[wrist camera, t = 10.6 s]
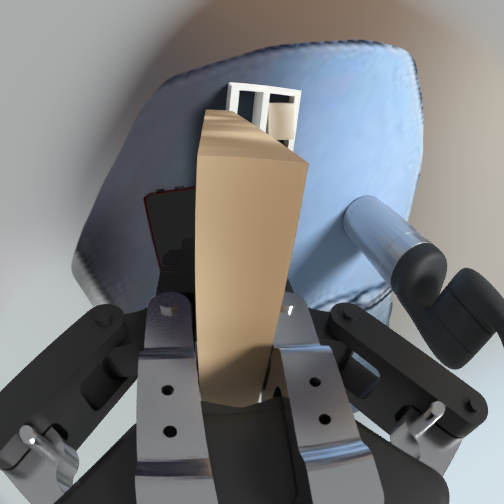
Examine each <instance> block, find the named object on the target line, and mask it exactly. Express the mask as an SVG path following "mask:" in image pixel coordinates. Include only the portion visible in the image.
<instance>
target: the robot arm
mask: <svg viewBox="0 0 504 504" xmlns="http://www.w3.org/2000/svg"><path fill="white" fill-rule="evenodd" d="M343 227H344V230H345V232H346V234H347V235H348V236H349V237H350V238H351V240H352V241H353V242H354V243H355V244H356V246H357V247H358V248H359V249H360V250H361V252H362V253H363V254H364V255H365V256H366V258H367V259H368V260H369V261H370V263H371V264H372V265H373V266H374V267H375V269H376V270H377V271H378V272H379V274H380V275H381V276H382V278H383V279H384V280H385V281H386V282H387V284H388V285H389V286H390V288H391V289H392V290H393V292H394V293H395V294H396V295H397V297H398V299H399V301H400V303H401V304H402V305H403V307H404V308H405V310H406V311H407V313H408V314H409V315H410V317H411V319H412V320H413V322H414V323H415V325H416V327H417V329H418V330H419V332H420V334H421V335H422V337H423V338H424V340H425V342H426V343H427V345H428V346H429V348H430V349H431V351H432V352H433V354H434V355H435V356H436V357H437V359H439V360H440V362H441V363H443V364H444V365H445V366H447V367H448V368H450V369H459V368H462V367H463V366H464V365H465V364H466V363H467V362H469V361H470V360H471V359H472V358H473V357H474V355H475V354H476V353H477V352H478V351H479V350H480V349H481V348H482V347H483V346H484V345H485V344H486V343H487V341H488V340H489V339H490V338H491V337H492V335H494V333H495V332H497V333H498V335H499V337H500V339H501V341H502V344H503V347H504V299H503V297H502V296H501V295H500V294H499V293H498V291H497V290H496V289H495V288H494V287H493V286H492V285H491V284H490V283H489V282H488V281H487V280H486V279H485V278H484V277H483V276H482V275H480V274H479V273H478V272H476V271H474V270H473V269H469V268H464V269H461V270H460V271H459V272H458V273H457V274H456V275H455V276H454V278H453V279H452V280H451V281H450V282H449V284H448V286H446V287H445V289H444V290H443V291H442V292H441V294H440V291H441V288H442V285H443V282H444V280H445V277H446V272H447V261H446V258H445V256H444V254H443V253H442V252H441V251H440V250H439V249H438V248H437V247H436V246H435V245H433V244H432V243H431V242H430V241H429V240H428V239H427V238H425V237H424V236H423V235H422V234H421V233H420V232H418V231H417V230H416V229H415V228H414V227H413V226H412V225H410V224H409V223H408V222H407V221H406V220H404V219H403V218H402V217H401V216H400V215H398V214H397V213H396V212H395V211H393V210H392V209H391V208H389V207H388V206H387V205H385V204H384V203H383V202H381V201H380V200H379V199H377V198H376V197H373V196H363V197H360V198H358V199H356V200H355V201H354V202H352V203H351V204H350V206H349V207H348V208H347V210H346V212H345V215H344V218H343ZM195 341H197V325H196V291H195V238H183V239H182V247H181V250H169V251H168V252H167V253H166V254H165V255H164V256H163V261H162V266H161V272H160V276H159V281H158V286H157V292H156V295H155V296H154V297H153V298H152V299H151V300H150V301H149V303H148V306H147V308H145V309H143V310H141V311H138V312H134V313H129V314H124V313H123V311H122V310H121V309H120V308H119V307H117V306H115V305H112V304H103V305H98V306H96V307H94V308H92V309H91V310H89V311H88V312H87V313H86V314H85V315H83V316H82V317H81V318H80V319H79V320H78V321H76V322H75V323H74V324H73V325H72V326H70V327H69V328H68V329H67V330H66V331H65V332H64V333H63V334H61V335H60V336H59V337H58V338H57V339H56V340H55V341H53V342H52V343H51V344H50V345H49V346H48V347H47V348H46V349H45V350H43V351H42V352H41V353H40V354H39V355H38V356H37V357H36V358H35V359H34V360H33V361H32V362H31V363H29V364H28V365H27V366H26V367H25V368H24V369H23V370H22V371H21V372H20V373H19V374H18V375H17V376H16V377H15V378H14V379H13V380H12V381H11V382H10V383H9V384H8V385H7V386H6V387H5V388H4V389H3V390H2V391H1V392H0V470H1V471H3V472H4V473H5V474H6V475H7V477H8V478H9V479H10V480H11V481H12V483H13V484H14V485H15V486H16V488H17V489H18V490H19V491H20V492H21V493H22V494H23V496H25V498H26V499H27V500H28V501H29V502H30V503H31V504H449V490H448V486H447V483H446V482H445V480H444V478H443V475H444V473H445V472H446V470H447V468H448V466H449V465H450V463H451V461H452V459H453V457H454V455H455V453H456V451H457V450H458V447H459V446H460V444H461V441H462V440H463V438H464V437H465V436H467V435H468V434H469V433H471V432H472V431H473V430H474V429H476V428H477V427H478V426H479V425H480V424H482V423H483V422H484V420H485V419H486V418H487V414H488V407H487V403H486V401H485V399H484V397H483V396H482V395H481V394H480V393H479V392H477V391H476V390H475V389H473V388H472V387H470V386H469V385H468V384H466V383H465V382H464V381H462V380H461V379H460V378H458V377H457V376H456V375H454V374H453V373H451V372H450V371H449V370H447V369H446V368H444V367H443V366H442V365H440V364H439V363H438V362H436V361H435V360H433V359H432V358H431V357H429V356H428V355H427V354H425V353H424V352H422V351H421V350H420V349H418V348H417V347H415V346H414V345H413V344H411V343H410V342H408V341H407V340H406V339H404V338H403V337H401V336H400V335H399V334H397V333H396V332H394V331H393V330H391V329H390V328H389V327H387V326H386V325H385V324H383V323H382V322H380V321H379V320H377V319H376V318H375V317H373V316H372V315H370V314H369V313H367V312H366V311H365V310H363V309H362V308H360V307H359V306H357V305H354V304H351V303H339V304H336V305H335V306H333V308H332V309H331V312H325V311H319V310H314V309H311V308H308V306H307V304H306V302H305V300H304V299H303V298H302V297H300V296H299V295H297V294H294V292H293V290H292V287H291V285H290V282H289V280H288V277H287V281H286V286H285V291H284V296H283V300H282V305H281V309H280V314H279V318H278V323H277V327H276V332H275V336H274V340H273V345H272V349H271V353H270V357H269V361H268V365H267V370H266V374H265V378H264V382H263V386H262V390H261V402H259V403H256V404H253V405H250V406H246V407H233V406H227V405H221V404H216V403H211V402H206V401H200V394H199V386H198V377H197V368H196V359H195ZM354 352H355V353H357V354H358V355H359V356H361V357H362V358H363V359H364V360H366V361H367V362H368V363H370V364H371V365H372V366H373V367H375V368H376V369H377V370H378V371H379V373H380V378H379V377H377V376H376V375H374V374H373V373H372V372H370V371H369V370H368V369H367V368H365V367H364V366H363V365H361V364H360V363H359V362H358V361H356V360H355V359H354V358H353V357H352V355H353V354H354ZM137 378H138V380H137V423H136V424H134V425H133V426H132V427H131V428H130V429H129V430H128V431H127V432H126V433H125V434H124V435H123V436H122V437H121V438H120V439H119V440H118V441H117V442H116V443H115V444H114V445H113V446H112V447H111V448H110V449H109V450H108V451H107V452H106V453H105V454H104V455H103V456H102V457H101V458H100V459H99V460H98V461H97V462H96V463H95V464H94V465H93V466H92V467H91V468H90V469H89V470H88V471H87V472H86V473H85V474H84V475H83V476H82V477H81V478H80V479H79V480H78V481H77V482H76V483H75V484H74V485H73V478H74V475H75V473H77V470H78V467H79V458H78V455H77V453H76V450H77V449H78V448H79V447H80V446H81V445H82V443H83V442H84V441H85V440H86V438H87V437H88V436H89V435H90V434H91V433H92V432H93V430H94V429H95V428H96V427H97V426H98V424H99V423H100V422H101V421H102V420H103V418H104V417H105V416H106V415H107V414H108V412H109V411H110V410H111V409H112V408H113V407H114V405H115V404H116V403H117V402H118V401H119V400H120V398H121V397H122V396H123V395H124V394H125V392H126V391H127V390H128V389H129V388H130V386H131V385H132V384H133V383H134V382H135V380H136V379H137ZM349 402H350V403H351V404H352V405H353V406H354V407H356V408H357V409H358V410H359V411H361V412H362V413H363V414H364V415H365V416H367V417H368V418H369V419H370V420H372V421H373V422H374V423H375V424H377V425H378V426H379V427H380V428H382V429H383V430H384V431H385V432H387V433H388V434H389V435H390V440H391V441H390V442H388V441H387V440H385V439H384V438H382V437H381V436H379V435H378V434H376V433H374V432H373V431H371V430H370V429H368V428H367V427H366V426H364V425H362V424H361V423H360V422H358V421H357V420H355V419H354V415H353V412H352V409H351V406H350V403H349Z"/></svg>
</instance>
